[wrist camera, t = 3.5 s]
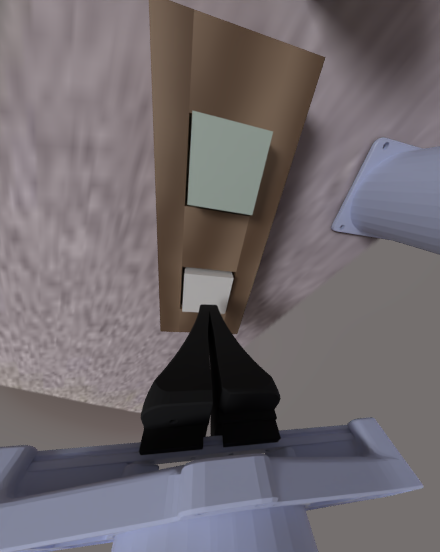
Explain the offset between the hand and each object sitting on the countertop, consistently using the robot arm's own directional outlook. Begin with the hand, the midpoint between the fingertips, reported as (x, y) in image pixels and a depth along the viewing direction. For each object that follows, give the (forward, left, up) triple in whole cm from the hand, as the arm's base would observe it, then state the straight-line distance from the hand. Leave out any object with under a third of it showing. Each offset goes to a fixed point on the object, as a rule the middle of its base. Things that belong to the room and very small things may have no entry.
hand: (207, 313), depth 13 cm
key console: (0, -5, -7) cm, 9 cm away
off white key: (0, 0, -6) cm, 6 cm away
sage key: (0, -10, -5) cm, 11 cm away
